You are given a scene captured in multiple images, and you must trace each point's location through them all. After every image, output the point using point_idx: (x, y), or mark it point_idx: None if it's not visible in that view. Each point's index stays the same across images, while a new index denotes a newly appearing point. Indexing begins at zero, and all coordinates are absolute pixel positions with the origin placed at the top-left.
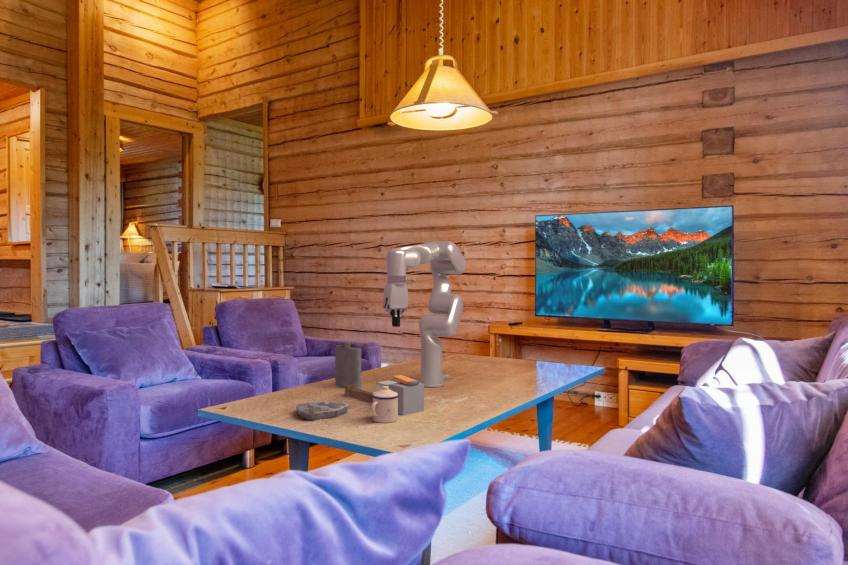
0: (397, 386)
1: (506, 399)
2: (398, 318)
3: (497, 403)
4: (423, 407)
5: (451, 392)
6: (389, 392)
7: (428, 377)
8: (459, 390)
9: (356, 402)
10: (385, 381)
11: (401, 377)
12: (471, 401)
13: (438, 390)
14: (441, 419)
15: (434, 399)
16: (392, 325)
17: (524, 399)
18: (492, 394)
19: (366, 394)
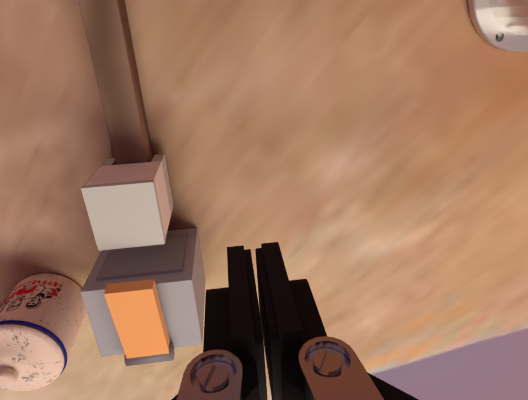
0: (93, 330)
1: (476, 304)
2: (272, 396)
3: (421, 321)
4: (204, 289)
5: (455, 151)
6: (16, 386)
7: (513, 9)
8: (500, 143)
9: (59, 61)
10: (127, 192)
11: (131, 316)
12: (392, 273)
13: (453, 95)
14: (189, 360)
15: (331, 196)
16: (228, 255)
17: (505, 325)
18: (510, 245)
19: (97, 76)
